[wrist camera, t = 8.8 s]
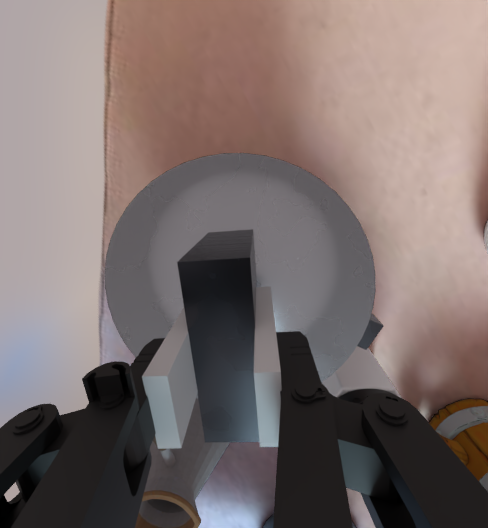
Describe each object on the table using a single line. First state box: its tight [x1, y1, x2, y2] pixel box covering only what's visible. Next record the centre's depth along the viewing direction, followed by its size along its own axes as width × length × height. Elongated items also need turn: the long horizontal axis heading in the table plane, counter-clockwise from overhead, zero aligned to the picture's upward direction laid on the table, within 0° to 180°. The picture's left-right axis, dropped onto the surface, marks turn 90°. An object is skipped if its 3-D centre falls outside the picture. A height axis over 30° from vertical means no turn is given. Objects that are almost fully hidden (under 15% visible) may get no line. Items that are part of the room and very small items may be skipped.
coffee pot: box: [135, 398, 230, 528], centre depth 28 cm, size 21×12×15 cm, turn 177°
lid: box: [105, 153, 375, 443], centre depth 14 cm, size 16×16×8 cm
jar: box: [322, 346, 401, 405], centre depth 27 cm, size 9×8×12 cm
